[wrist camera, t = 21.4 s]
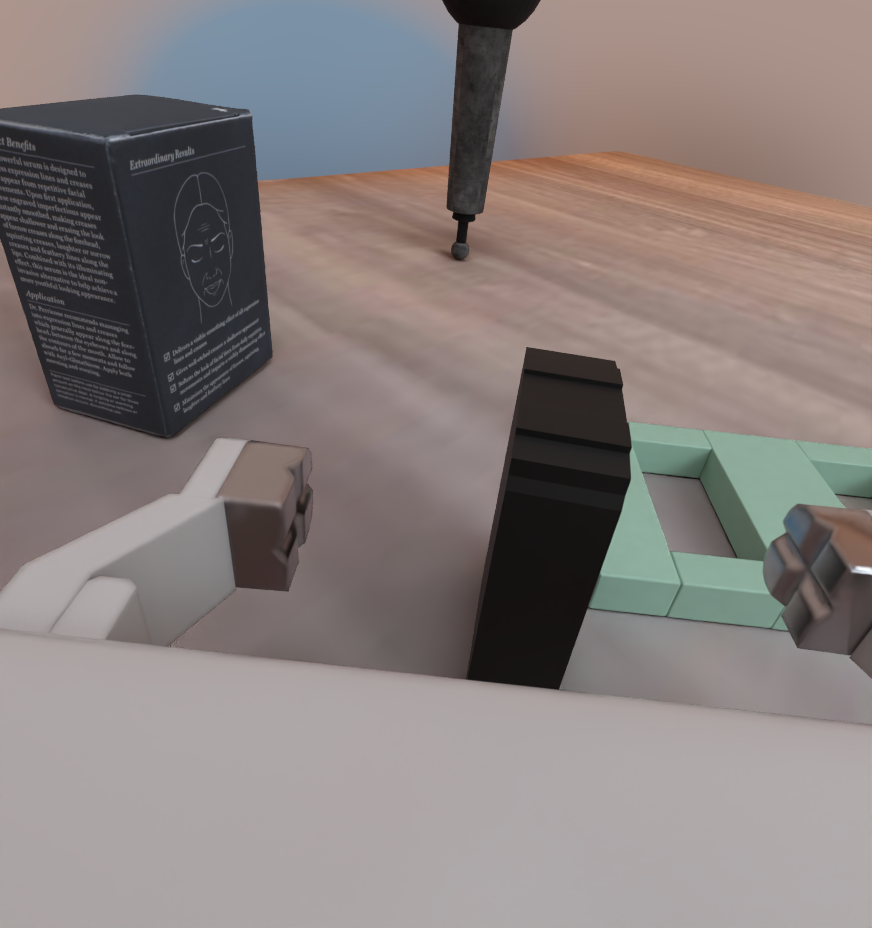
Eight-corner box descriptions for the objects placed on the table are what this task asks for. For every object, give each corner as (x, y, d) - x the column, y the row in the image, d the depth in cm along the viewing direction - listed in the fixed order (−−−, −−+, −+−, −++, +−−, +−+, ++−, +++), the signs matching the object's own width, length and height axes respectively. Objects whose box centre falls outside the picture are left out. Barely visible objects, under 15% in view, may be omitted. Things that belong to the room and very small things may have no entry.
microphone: (468, 282, 41) (519, -127, 29) (392, 254, 44) (412, -124, 33) (523, 262, 46) (587, -98, 34) (451, 239, 49) (486, -98, 37)
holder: (587, 608, 19) (599, 574, 18) (558, 444, 26) (566, 414, 25) (1045, 660, 19) (1081, 627, 18) (887, 481, 26) (906, 452, 25)
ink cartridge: (550, 728, 15) (643, 472, 11) (460, 708, 16) (511, 448, 11) (555, 584, 19) (623, 352, 15) (483, 570, 19) (528, 337, 15)
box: (174, 336, 31) (133, 90, 25) (275, 361, 30) (259, 110, 23) (47, 408, 25) (-51, 105, 18) (169, 444, 23) (108, 133, 17)
